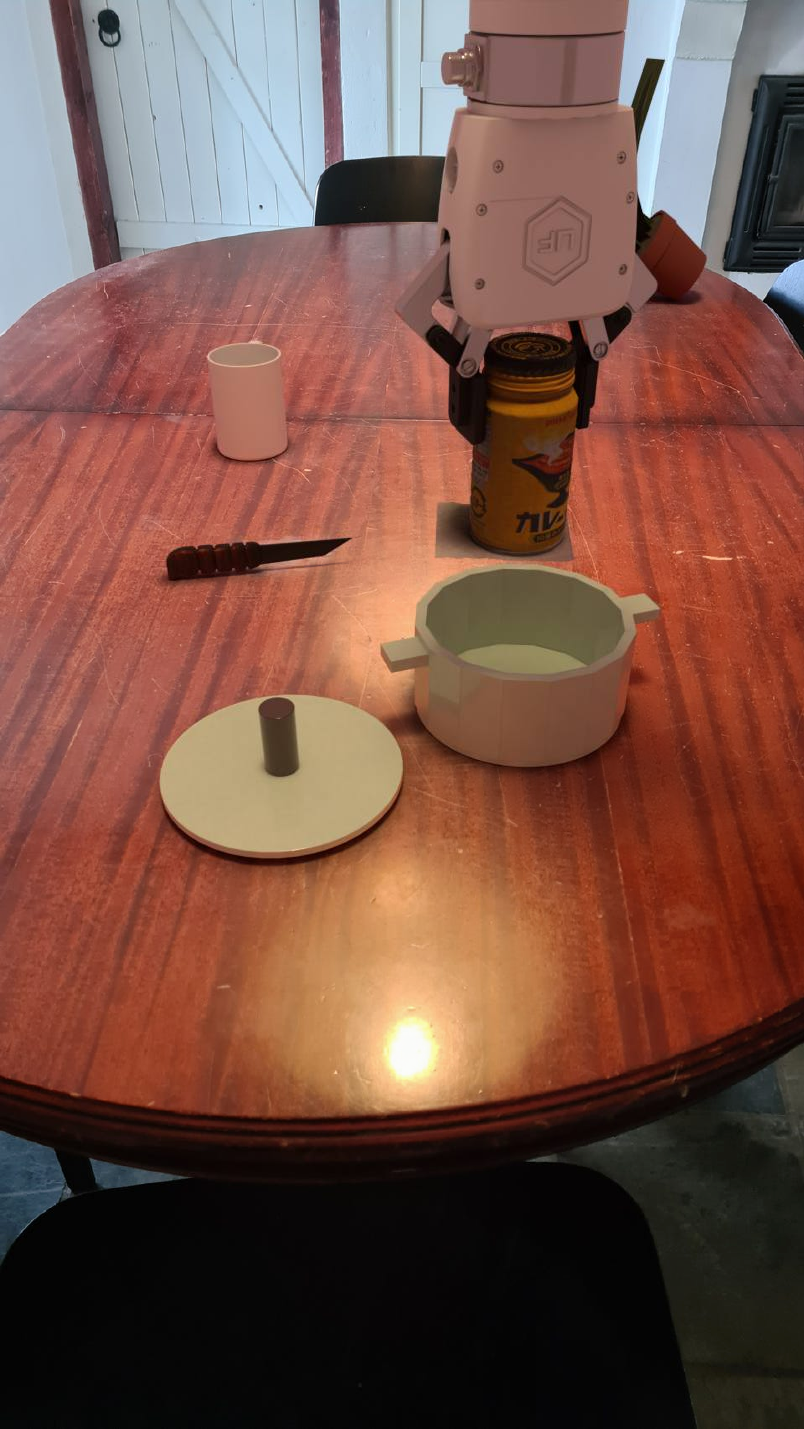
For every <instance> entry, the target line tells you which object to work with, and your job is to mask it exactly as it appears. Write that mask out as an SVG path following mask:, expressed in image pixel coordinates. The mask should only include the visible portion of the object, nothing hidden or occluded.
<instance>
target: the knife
mask: <svg viewBox="0 0 804 1429" xmlns="http://www.w3.org/2000/svg"><path fill="white" fill-rule="evenodd" d="M350 540H353V537H340V538H339V537H338V538H326V539H315V540H314V539H313V540H303V541H290V542H278V543H265V544H260V543H258V542H257V541H246V542H245V544H244V542H243V541H239V542H238V541H237V542H232V544H231V545H230V543H227V542H225V543H217V544H215V545H214V546H213V544H199V545H197V548H196V546H194V545H185V546H180V547H177V548H175V549H173V550H171V551H170V552H169V553H168V555H167V557H166V558H165V564H166V571H167V576H168V578H169V579H170V580H171V581H174V580H176V579H177V578H179V577H182V576H196V575H198V573H199V572H200V574H201V575H210V574H214V573H216V572H219V573H227V572H232V571H233V569H234V571H235V572H242V571H243V572H244V571H246V570H247V568H248V570H249V571H250V570H251V571H252V570H255V569H256V568H258V567H260V566H264V565H270V564H276V563H277V564H278V563H283V562H284V563H285V562H291V561H292V562H293V561H298V560H305V559H313V558H320V557H325V556H326V555H328V554H330V553H331V552H333V551H335V550H336V549H338V548H339V547H341V546H342V545H344V544H345V543H348V542H350Z"/></svg>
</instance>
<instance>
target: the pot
mask: <svg viewBox="0 0 804 1429" xmlns="http://www.w3.org/2000/svg"><path fill="white" fill-rule="evenodd" d="M660 612H661V607H660V606H659V605H658V604H656V602H654V601H653V599H651V598H650V597H649V595H647V594H646V593H645V592H643V593H638V594H632V595H628V596H627V595H626V596H622V597H620V596H619V594H617V593H616V591H614V590H613V589H612V588H611V587H609V586H607V585H604V584H602V583H601V582H599V581H596V580H594V579H592V578H590V577H588V576H587V575H584V574H582V573H579V572H576V571H575V572H574V571H570V570H566V569H562V568H558V567H553V566H548V565H545V564H531V563H529V564H527V563H497V564H491V565H490V564H489V565H484V566H479V567H475V568H474V567H473V568H468V569H464V570H462V571H459V572H457V573H455V574H452V575H451V576H449V577H447V578H444V579H442V580H440V581H438V582H435V583H434V585H432V586H431V587H430V589H428V591H427V592H426V593H425V594H424V595H423V596H422V598H420V600H419V601H418V602H417V603H416V610H415V620H414V636H413V637H408V638H402V639H396V640H392V641H386V642H381V643H380V644H379V645H380V656H381V658H382V660H383V662H384V663H385V665H386V667H387V668H388V670H389V672H390V674H394V673H398V672H404V671H408V670H414V705H415V708H416V712H417V715H418V717H419V720H420V721H421V723H422V724H423V726H424V727H425V729H426V730H427V731H428V732H429V733H430V735H432V736H433V737H434V738H435V739H437V741H439V743H442V744H443V745H445V746H447V747H448V748H450V749H451V750H453V751H454V752H457V753H459V754H461V755H463V756H465V757H468V758H471V759H474V760H478V761H480V762H485V763H488V764H493V765H499V766H505V767H516V768H538V767H549V766H550V767H551V766H555V765H560V764H565V763H568V762H571V761H575V760H577V759H580V758H583V757H585V756H588V755H589V754H591V753H593V752H594V751H597V750H598V749H599V748H601V747H602V746H603V745H605V744H606V743H607V742H608V741H609V740H610V739H611V738H613V735H614V734H615V732H616V731H617V729H618V728H619V725H620V723H621V720H622V716H623V715H624V713H625V709H626V704H627V697H628V696H627V695H628V689H629V684H630V676H631V672H632V665H633V658H634V652H635V646H636V639H637V632H638V631H637V628H636V625H639V624H643V623H649V622H653V621H658V620H660V614H661V613H660Z"/></svg>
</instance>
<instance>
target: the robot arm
mask: <svg viewBox="0 0 804 1429" xmlns="http://www.w3.org/2000/svg"><path fill="white" fill-rule="evenodd" d="M468 1H469V2H468V3H469V6H468V10H469V11H468V30H469V32H468V33H464V39H463V40H464V41H463V42H464V43H463V47H460V48H458V49H457V51H446V52H444V53H443V55H442V57H441V61H440V62H441V63H440V73H441V74H440V75H441V79H442V82H443V84H444V85H446V86H451V85H454V86H455V85H457V86H458V87H459V88H462V90H463V91H462V96H465V97H466V106H462V107H456V108H455V110H454V115H453V119H452V123H451V128H450V133H449V136H448V143H447V147H446V148H447V149H446V153H445V159H444V160H445V161H444V166H443V172H442V178H441V188H440V196H439V204H438V216H437V226H436V227H437V228H436V241H435V242H436V244H435V253H434V254H433V256H431V258H430V259H429V261H427V263H426V264H425V265H424V267H423V268H422V269H421V270H420V272H419V273H418V274H417V275H416V277H415V278H414V279H413V280H412V281H411V282H410V284H409V285H408V287H407V288H406V289H405V290H404V292H402V294H401V295H400V296H399V297H398V299H397V300H396V302H395V304H394V306H393V310H394V313H395V314H396V316H398V318H400V319H401V321H403V323H405V324H406V325H407V326H408V327H409V328H410V329H411V331H413V332H414V333H415V334H417V336H419V338H421V339H422V340H423V341H424V342H425V343H426V344H427V346H429V347H430V348H431V349H432V350H433V351H434V352H435V354H437V356H439V357H440V358H441V359H442V360H443V361H444V362H445V363H446V364H447V365H448V400H447V401H448V402H447V405H448V406H447V407H448V408H447V413H448V415H447V416H448V420H449V423H450V424H451V425H452V426H453V427H454V428H455V431H457V432H458V433H459V434H460V435H461V436H462V437H463V438H464V439H465V440H466V441H467V442H468V443H469V444H470V445H471V446H473V445H477V444H481V443H482V441H484V440H485V421H486V399H487V379H486V377H485V376H484V375H483V374H482V372H480V370H481V364H482V362H483V359H484V353H485V351H486V348H487V346H488V343H489V341H491V337H492V335H493V333H494V331H495V330H504V329H513V328H521V327H530V326H532V327H533V326H541V325H548V324H549V325H550V324H557V323H564V324H565V329H566V332H567V336H568V340H569V342H570V343H573V347H574V348H575V351H576V356H577V360H576V364H575V371H574V374H575V381H574V383H573V385H572V386H573V389H574V390H575V392H576V394H577V396H578V406H577V409H578V410H577V418H576V427H575V429H577V430H584V429H588V428H589V424H590V417H591V416H590V415H591V409H592V408H594V406H595V403H596V394H597V385H598V376H599V368H600V362H601V361H603V360H605V359H606V358H607V357H608V356H609V355H610V354H609V353H610V351H611V345H612V344H613V342H615V340H616V339H617V338H618V337H619V336H620V335H621V333H623V331H624V330H625V329H626V328H627V327H628V326H629V324H630V323H631V321H632V317H633V315H634V314H637V312H639V311H640V309H641V308H642V307H643V306H644V305H645V304H646V303H647V302H648V301H649V299H650V298H651V297H652V296H653V295H654V294H655V293H656V289H657V281H656V279H655V278H654V277H653V275H652V274H651V273H650V271H649V270H648V269H647V267H646V266H645V265H644V263H643V262H642V261H641V259H640V258H639V257H638V255H637V254H636V253H635V241H636V222H637V190H638V153H637V151H636V134H635V123H634V114H633V108H632V107H631V106H628V105H625V104H619V99H620V98H619V97H620V90H621V89H620V88H621V80H622V79H621V77H622V69H623V59H624V49H625V40H626V30H627V24H628V14H629V5H630V0H468ZM437 301H438V302H439V303H440V304H441V305H443V306H444V307H446V308H449V309H453V310H454V311H455V313H454V315H453V318H452V321H451V323H450V326H449V329H446V328H445V327H444V326H443V325H442V324H441V323H440V322H439V321H438V320H437V319H436V317H434V315H433V312H432V308H433V306H434V305H435V303H436V302H437Z"/></svg>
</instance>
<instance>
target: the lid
mask: <svg viewBox="0 0 804 1429" xmlns="http://www.w3.org/2000/svg"><path fill="white" fill-rule="evenodd" d="M403 778H404V759H403V755H402V750H401V748H400V745H399V743H398V741H397V740H396V738H395V737H394V735H393V734H392V732H391V730H389V729H388V727H386V725H385V724H384V723H383V722H382V721H380V720H379V719H377V717H375V716H374V715H372V714H371V713H368V712H367V711H366V710H364V709H362V708H360V707H357V706H355V705H354V704H350V703H347V702H345V701H342V700H338V699H333V698H330V697H325V696H324V697H323V696H318V695H311V694H309V695H308V694H278V695H275V694H274V695H268V696H260V697H255V698H250V699H247V700H243V701H239V702H237V703H234V704H231V705H228V706H227V705H226V706H225V707H222V708H220V709H217V710H216V711H214V712H211V713H209V714H208V715H206V716H204V717H202V718H201V719H199V720H197V722H195V723H194V724H192V725H190V727H188V728H187V729H186V730H185V731H184V732H182V734H181V735H180V736H179V737H178V738H177V739H176V740H175V741H174V742H173V744H172V745H171V747H170V748H169V749H168V751H167V753H166V755H165V757H164V758H163V761H162V765H161V768H160V771H159V782H158V783H159V791H160V796H161V800H162V803H163V806H164V809H165V811H166V812H167V814H168V816H169V818H170V819H171V820H172V821H173V823H174V824H175V825H176V826H177V827H178V828H179V829H180V830H181V831H183V833H185V834H186V835H187V836H189V837H190V838H192V840H193V839H194V840H195V841H196V842H198V843H200V844H201V845H202V844H203V845H205V846H207V847H208V848H211V849H213V850H215V851H220V852H223V853H226V854H229V855H234V856H235V855H236V856H239V857H245V858H255V859H256V858H257V859H284V858H285V859H286V858H294V857H301V856H306V855H307V856H308V855H311V854H316V853H320V852H323V851H326V850H329V849H332V848H335V847H337V846H340V845H342V844H345V843H347V842H349V841H351V840H353V839H354V838H357V837H359V836H360V835H362V834H363V833H364V832H366V831H367V830H369V829H370V828H372V827H373V826H374V825H375V824H376V823H377V822H378V821H380V820H381V819H382V818H383V817H384V815H385V814H386V813H387V812H388V811H389V810H390V809H391V807H392V806H393V804H394V802H395V801H396V799H397V797H398V795H399V793H400V790H401V787H402V784H403Z"/></svg>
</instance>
